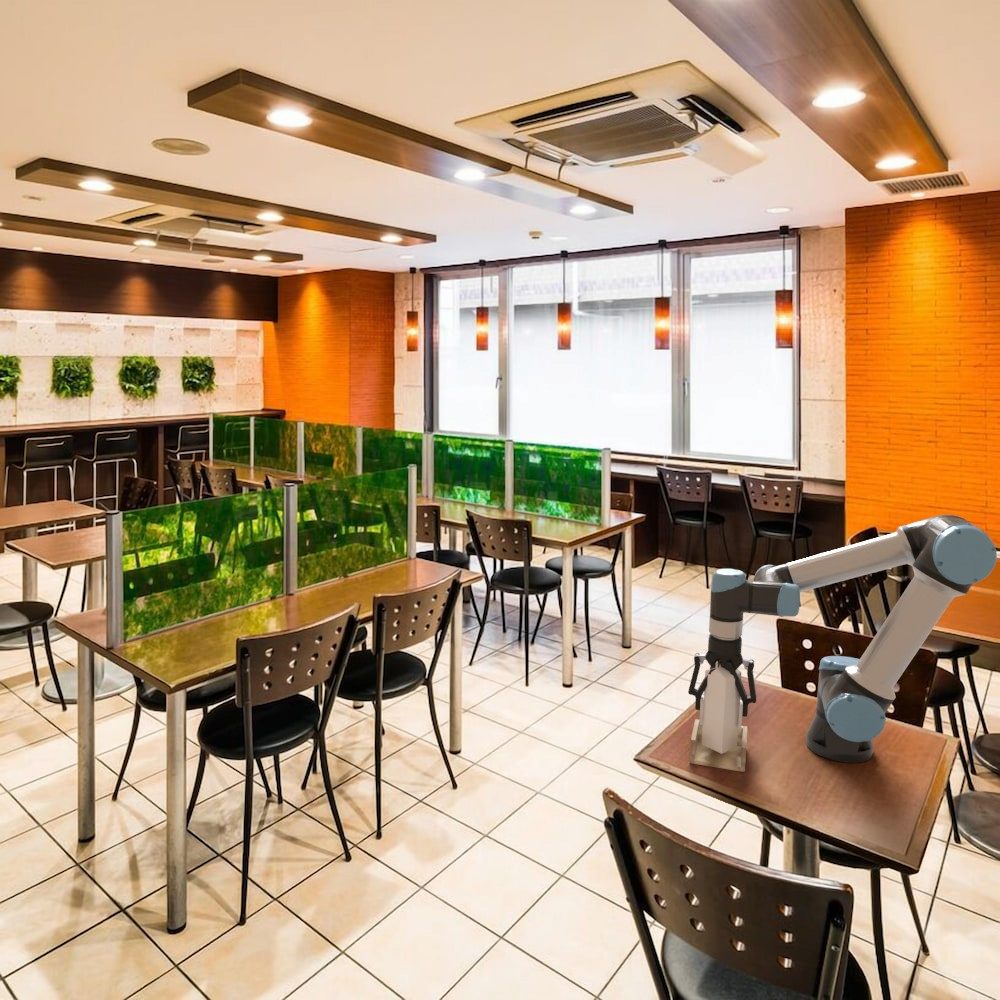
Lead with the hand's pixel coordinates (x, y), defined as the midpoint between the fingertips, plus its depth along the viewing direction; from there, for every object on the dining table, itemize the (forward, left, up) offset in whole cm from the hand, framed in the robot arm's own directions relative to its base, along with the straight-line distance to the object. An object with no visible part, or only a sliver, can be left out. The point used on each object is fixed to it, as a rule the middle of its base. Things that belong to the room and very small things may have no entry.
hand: (720, 725), depth 186 cm
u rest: (0, 0, -8) cm, 8 cm away
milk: (0, 0, -5) cm, 5 cm away
